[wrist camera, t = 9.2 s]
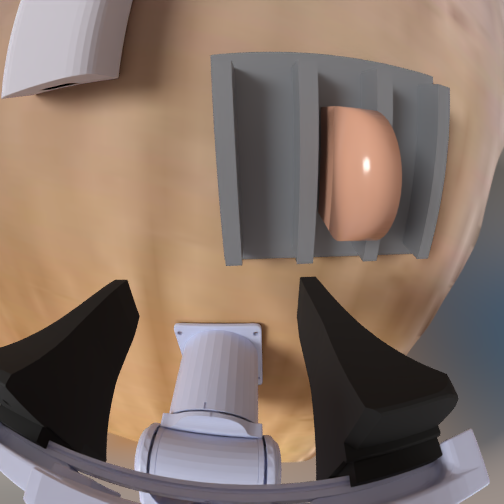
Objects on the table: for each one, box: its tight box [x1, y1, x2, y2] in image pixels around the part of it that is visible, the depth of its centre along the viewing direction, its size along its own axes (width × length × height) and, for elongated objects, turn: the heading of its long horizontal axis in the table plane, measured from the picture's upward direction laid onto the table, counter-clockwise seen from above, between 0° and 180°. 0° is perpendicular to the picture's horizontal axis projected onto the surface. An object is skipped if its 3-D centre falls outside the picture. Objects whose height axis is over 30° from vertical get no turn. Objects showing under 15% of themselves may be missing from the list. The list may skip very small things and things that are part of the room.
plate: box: [318, 106, 402, 241], centre depth 13 cm, size 7×2×7 cm, turn 2°
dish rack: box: [211, 52, 450, 266], centre depth 16 cm, size 14×15×4 cm
